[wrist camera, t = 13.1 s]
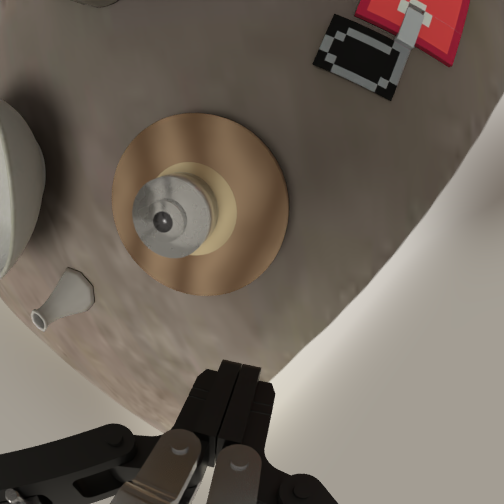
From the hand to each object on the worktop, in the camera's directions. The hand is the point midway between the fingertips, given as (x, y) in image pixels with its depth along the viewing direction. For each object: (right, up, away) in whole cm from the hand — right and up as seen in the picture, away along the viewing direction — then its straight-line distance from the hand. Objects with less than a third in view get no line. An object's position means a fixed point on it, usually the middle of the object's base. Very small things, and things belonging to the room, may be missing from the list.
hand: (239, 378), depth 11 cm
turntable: (-5, +10, +22) cm, 25 cm away
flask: (-27, -1, +31) cm, 41 cm away
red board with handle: (+17, +34, +9) cm, 39 cm away
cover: (-7, +9, +20) cm, 23 cm away
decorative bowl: (-35, +18, +26) cm, 47 cm away
